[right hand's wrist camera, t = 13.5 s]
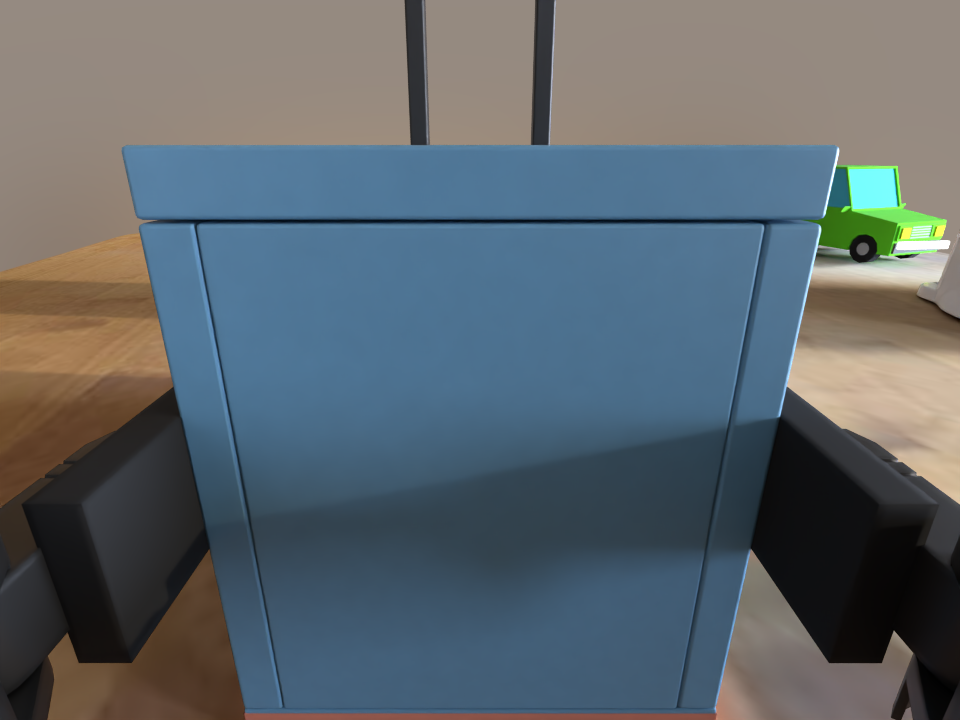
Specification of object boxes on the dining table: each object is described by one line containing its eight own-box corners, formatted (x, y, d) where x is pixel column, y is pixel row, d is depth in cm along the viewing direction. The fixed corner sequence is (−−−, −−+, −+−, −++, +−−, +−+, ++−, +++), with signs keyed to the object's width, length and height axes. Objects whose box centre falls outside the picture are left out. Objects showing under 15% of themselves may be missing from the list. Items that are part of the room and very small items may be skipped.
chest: (384, 394, 28) (368, 175, 24) (576, 395, 28) (591, 175, 24) (248, 737, 12) (133, 223, 8) (712, 737, 12) (827, 223, 8)
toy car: (881, 269, 57) (908, 168, 54) (777, 249, 69) (793, 165, 65) (944, 262, 61) (973, 167, 57) (834, 244, 72) (853, 164, 69)
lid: (371, 174, 25) (355, -57, 22) (589, 173, 25) (605, -56, 22) (134, 220, 8) (-95, -808, 5) (826, 220, 8) (1055, -811, 5)
